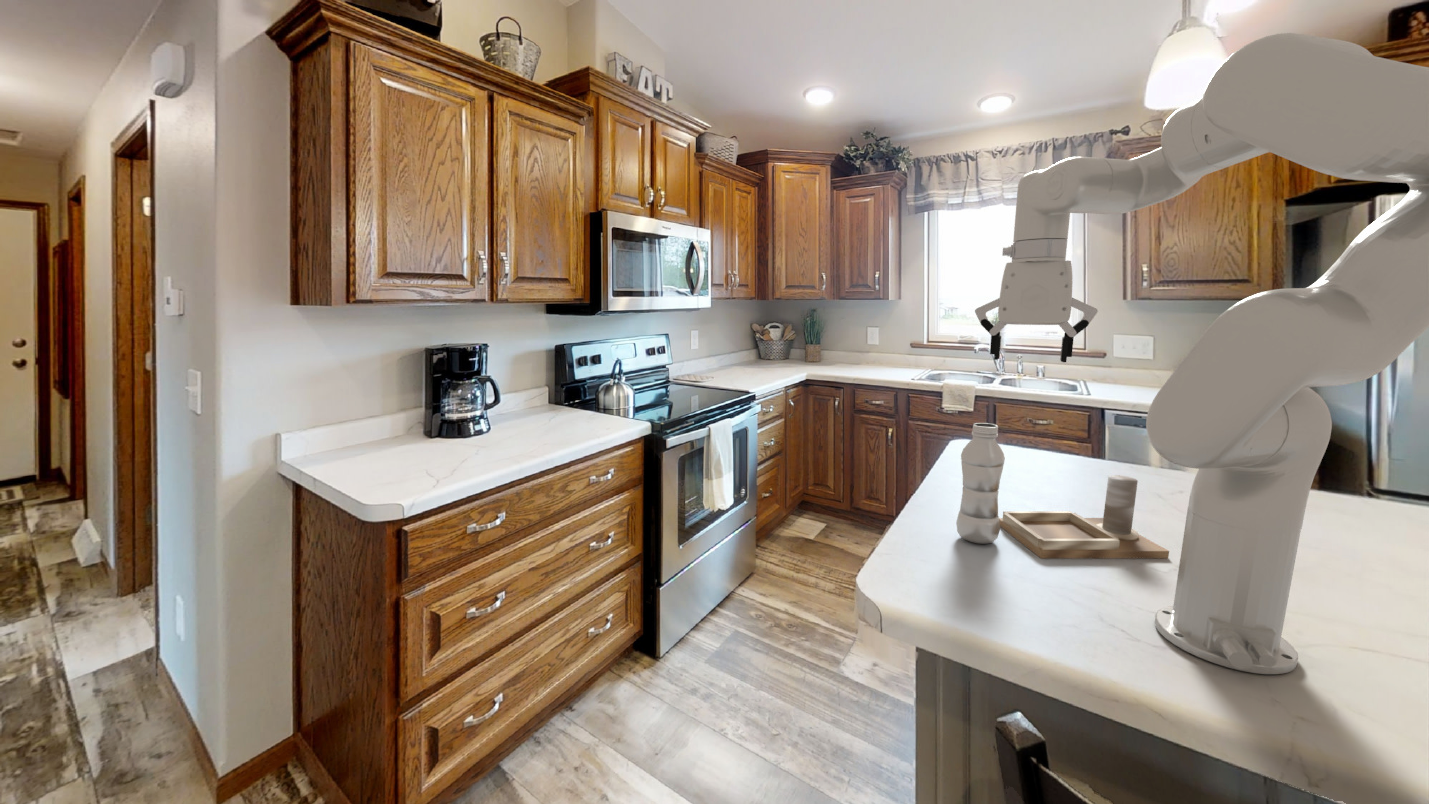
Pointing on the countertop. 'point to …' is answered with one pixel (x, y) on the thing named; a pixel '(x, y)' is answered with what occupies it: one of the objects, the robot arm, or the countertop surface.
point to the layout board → (1085, 529)
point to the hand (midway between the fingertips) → (1029, 360)
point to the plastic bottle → (981, 485)
